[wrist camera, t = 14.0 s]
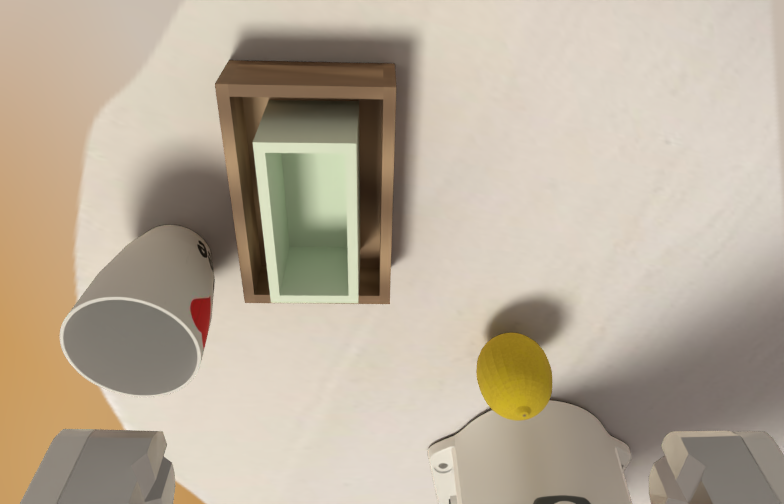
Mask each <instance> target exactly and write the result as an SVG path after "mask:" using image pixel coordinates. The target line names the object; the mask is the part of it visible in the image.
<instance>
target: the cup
mask: <svg viewBox="0 0 784 504" xmlns="http://www.w3.org/2000/svg"><path fill="white" fill-rule="evenodd" d="M214 282H215V279H214V271H213V264H212V257H211V252H210V249H209V247H208V245H207V243H206V242H205V241H204V240H203V239H202V238H201V237H200V236H199V235H198V234H197V233H195V232H194V231H192V230H190V229H188V228H185V227H182V226H178V225H162V226H158V227H155V228H153V229H151V230H150V231H148V232H146V233H145V234H143V235H142V236H140V237H138V238H137V239H135V240H134V241H132V242H131V243H129V244H128V245H127V246H126V247H125V248H124V249H123V250H122V251H121V252H120V253H119V254H118V255H117V256H116V257H115V258H114V259H113V260H112V261H111V262H110V263H109V264H108V265H107V266H105V267H104V268H103V269H102V270H101V271H100V272H99V274H98V275H97V276H96V277H95V279H94V280H93V281H92V283H91V284H90V285H89V287H88V288H87V290H86V291H85V292H84V294H83V295H82V296H81V298H80V299H79V300H78V302H77V303H76V304H75V306H74V307H73V308H72V310H71V311H70V312H69V314H68V315H67V316H66V318H65V319H64V321H63V323H62V326H61V329H60V343H61V347H62V350H63V353H64V355H65V356H66V358H67V360H68V361H69V363H70V364H71V365H72V366H73V368H74V369H75V370H77V372H78V373H80V374H81V375H82V376H83V377H85V378H86V379H87V380H89V381H90V382H92V383H94V384H96V385H97V386H99V387H101V388H104V389H106V390H109V391H111V392H114V393H118V394H122V395H126V396H132V397H158V396H164V395H168V394H171V393H174V392H176V391H178V390H180V389H182V388H184V387H185V386H186V385H188V384H189V383H190V382H191V381H192V380H193V379H194V377H195V376H196V374H197V373H198V370H199V368H200V364H201V360H202V355H203V351H204V347H205V343H206V339H207V335H208V331H209V326H210V322H211V318H212V306H213V294H214Z"/></svg>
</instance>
